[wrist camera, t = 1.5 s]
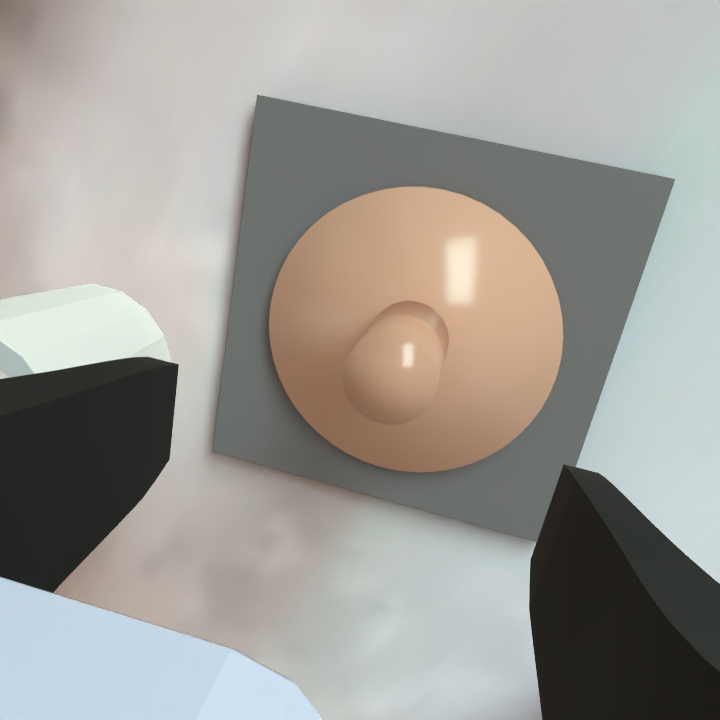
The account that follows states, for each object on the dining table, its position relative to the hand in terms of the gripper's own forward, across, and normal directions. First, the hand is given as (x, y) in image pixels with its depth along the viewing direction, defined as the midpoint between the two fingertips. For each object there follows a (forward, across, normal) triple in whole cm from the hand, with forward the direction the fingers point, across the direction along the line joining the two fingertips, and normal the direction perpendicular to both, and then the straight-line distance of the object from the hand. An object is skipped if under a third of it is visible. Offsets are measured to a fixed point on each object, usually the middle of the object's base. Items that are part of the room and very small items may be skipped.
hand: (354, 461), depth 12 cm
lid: (+9, 0, 0) cm, 9 cm away
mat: (+10, 0, 0) cm, 10 cm away
